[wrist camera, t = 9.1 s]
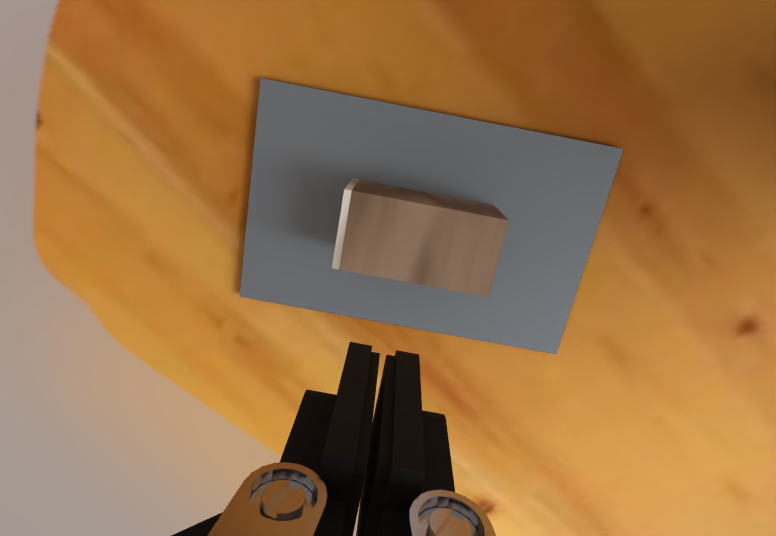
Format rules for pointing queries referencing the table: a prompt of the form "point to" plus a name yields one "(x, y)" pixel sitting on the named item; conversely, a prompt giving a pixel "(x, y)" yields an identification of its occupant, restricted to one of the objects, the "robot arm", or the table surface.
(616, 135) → the table surface
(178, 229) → the table surface
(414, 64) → the table surface
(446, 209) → the block
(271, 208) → the mat
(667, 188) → the table surface
